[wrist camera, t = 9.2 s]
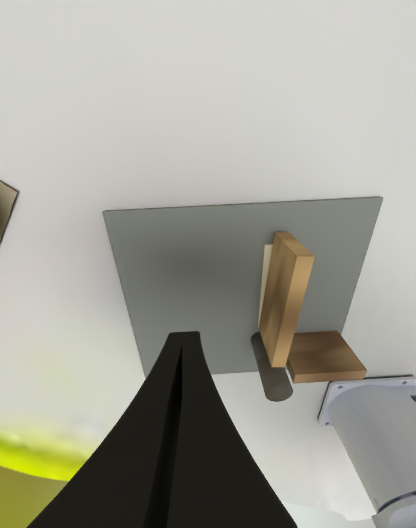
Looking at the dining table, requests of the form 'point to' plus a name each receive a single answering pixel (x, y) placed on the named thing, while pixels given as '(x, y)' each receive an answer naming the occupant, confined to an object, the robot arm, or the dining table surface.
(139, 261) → the card
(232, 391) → the dining table surface
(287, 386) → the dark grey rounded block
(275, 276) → the fence panel
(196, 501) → the robot arm
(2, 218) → the condiment
